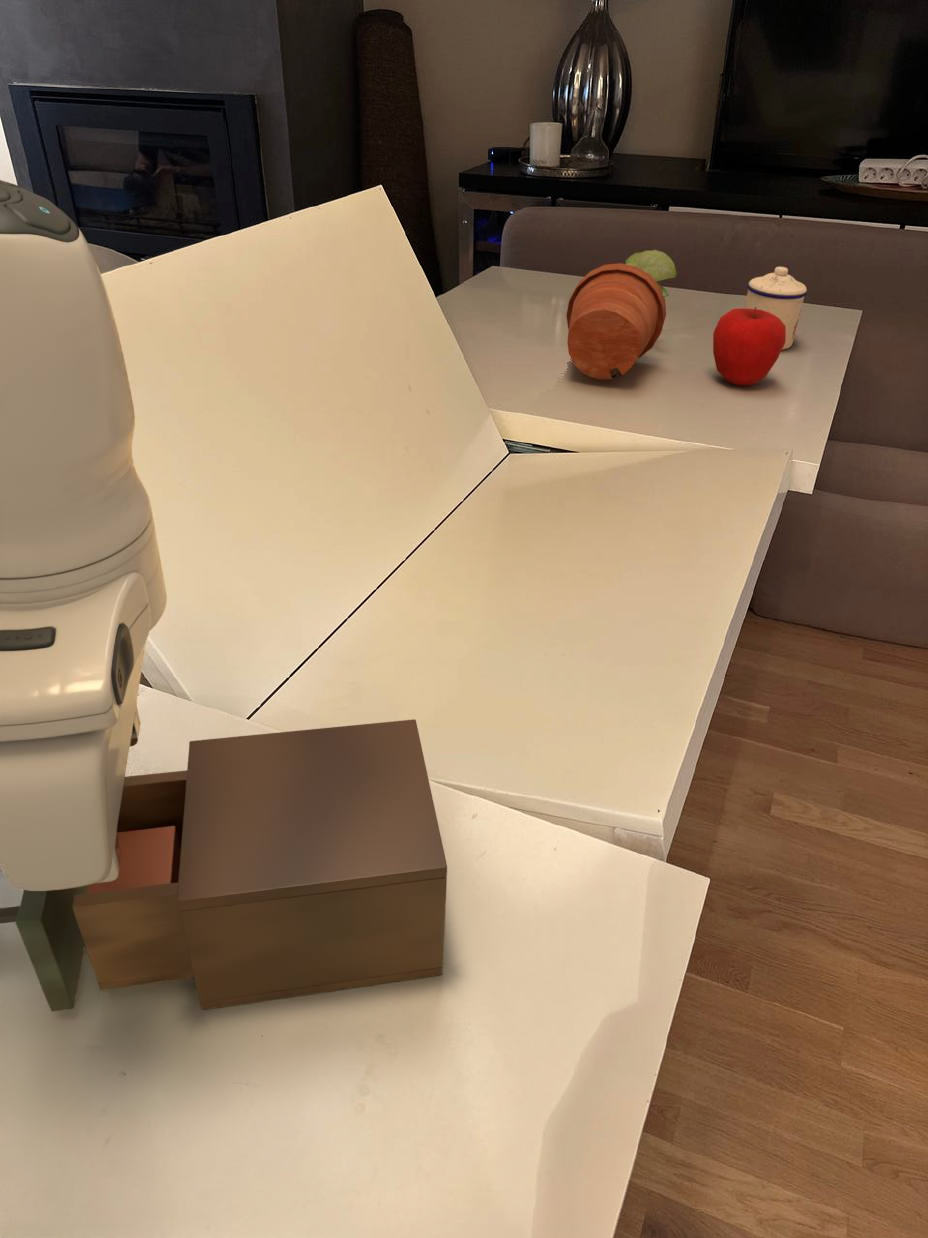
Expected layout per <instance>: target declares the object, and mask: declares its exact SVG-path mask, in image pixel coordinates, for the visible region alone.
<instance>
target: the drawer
mask: <svg viewBox="0 0 928 1238" xmlns="http://www.w3.org/2000/svg"><path fill="white" fill-rule="evenodd" d="M186 780H187V769H185V770H177V771H168V772H167V771H166V772H160V773H159V772H157V773H147V774H138V775H129V776H127V775H126V776H125V780H124V786H123V792H122V799H121V805H120V811H119V818H118V824H117V831H116V833H118V832H126V831H135V830H143V829H152V828H161V827H169V826H175V827H176V831H177V836H178V840H179V845H180V850H181V841H182V829H183V817H184V804H185V792H186ZM87 888H88V885H86V886H81V887H75V888H69V889H62V890H50V891H28V890H23V893H22V896H21V901H20V904H19V905H15V906H7V907H0V925H1V924H9V923H15V925H16V928H17V930H18V932H19V935H20V937H21V940H22V942H23V945H24V948H25V950H26V952H27V955H28V958H29V960H30V963H31V965H32V967H33V970H34V972H35V975H36V978H37V980H38V983H39V985H40V987H41V990H42V993H43V995H44V997H45V999H46V1002H47V1004H48V1008H49V1009H50V1012H53V1013H54V1012H61V1011H68V1010H73V1009H75V1005H76V999H77V993H78V988H79V983H80V975H81V970H82V964H83V959H84V954H85V953H84V952H85V949H86V952H87V955H88V958H89V961H90V965H91V967H92V971H93V973H94V976H95V979H96V982H97V984H98V987H99V990H100V991H106V990H113V989H120V988H128V987H135V986H142V985H149V984H155V983H156V984H157V983H162V982H170V981H177V980H185V979H191V978H192V979H193V978H194V974H193V970H192V966H191V961H190V957H189V953H188V948H187V944H186V940H185V935H184V931H183V927H182V922H181V918H180V914H179V909H178V905H177V891H178V883H169V884H161V885H153V886H145V887H137V888H129V889H120V890H112V891H104V892H96V893H88V894H87Z"/></svg>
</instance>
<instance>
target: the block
mask: <svg viewBox="0 0 928 1238" xmlns="http://www.w3.org/2000/svg"><path fill="white" fill-rule="evenodd" d="M117 837H118V841H119V848H121V860H120V868H119V874H118V878H117V879H115V880H114V881H111V882H103V883H95V884H91V885H88V888H87V894H88V893H96V892H104V891H112V890H120V889H129V888H137V887H145V886H153V885H161V884H169V883H178V878H179V866H180V854H181V850H180V845H179V840H178V836H177V831H176V827H175V826H169V827H161V828H152V829H143V830H135V831H126V832H118V833H117Z"/></svg>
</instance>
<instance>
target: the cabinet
mask: <svg viewBox="0 0 928 1238" xmlns="http://www.w3.org/2000/svg"><path fill="white" fill-rule="evenodd" d="M188 743H189V745H188V754H187V755H188V756H187V768H186V770H187V780H186V792H185V804H184V817H183V829H182V841H181V854H180V866H179V878H178V891H177V905H178V909H179V914H180V918H181V922H182V927H183V931H184V935H185V940H186V944H187V948H188V953H189V957H190V961H191V966H192V970H193V974H194V977H193V979H194V983H195V986H196V992H197V995H198V1001H199V1003H200V1008H201V1010H208V1009H209V1010H211V1009H215V1008H223V1007H230V1006H238V1005H244V1004H250V1003H251V1004H252V1003H257V1002H264V1001H271V1000H276V999H277V1000H278V999H285V998H291V997H298V996H305V995H306V996H307V995H313V994H320V993H325V992H332V991H339V990H344V989H345V990H346V989H353V988H359V987H366V986H367V987H368V986H372V985H373V986H374V985H381V984H386V983H393V982H400V981H407V980H414V979H423V978H428V977H435V976H441V975H443V972H444V956H445V955H444V954H445V953H444V950H445V934H446V933H445V931H446V930H445V929H446V908H447V907H446V905H447V883H448V882H447V881H448V879H447V878H448V865H447V860H446V855H445V850H444V846H443V841H442V840H443V839H442V836H441V831H440V826H439V821H438V818H437V813H436V808H435V802H434V799H433V793H432V789H431V784H430V779H429V775H428V770H427V766H426V761H425V757H424V751H423V746H422V742H421V737H420V732H419V728H418V723H417V719H415V718H414V719H403V720H394V721H383V722H382V721H381V722H373V723H363V724H353V725H352V724H351V725H343V726H342V725H341V726H332V727H322V728H321V727H319V728H310V729H300V730H291V731H290V730H289V731H281V732H279V731H278V732H270V733H260V734H259V733H258V734H249V735H240V736H239V735H238V736H229V737H219V738H208V739H198V740H197V739H196V740H190V741H189V742H188Z"/></svg>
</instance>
